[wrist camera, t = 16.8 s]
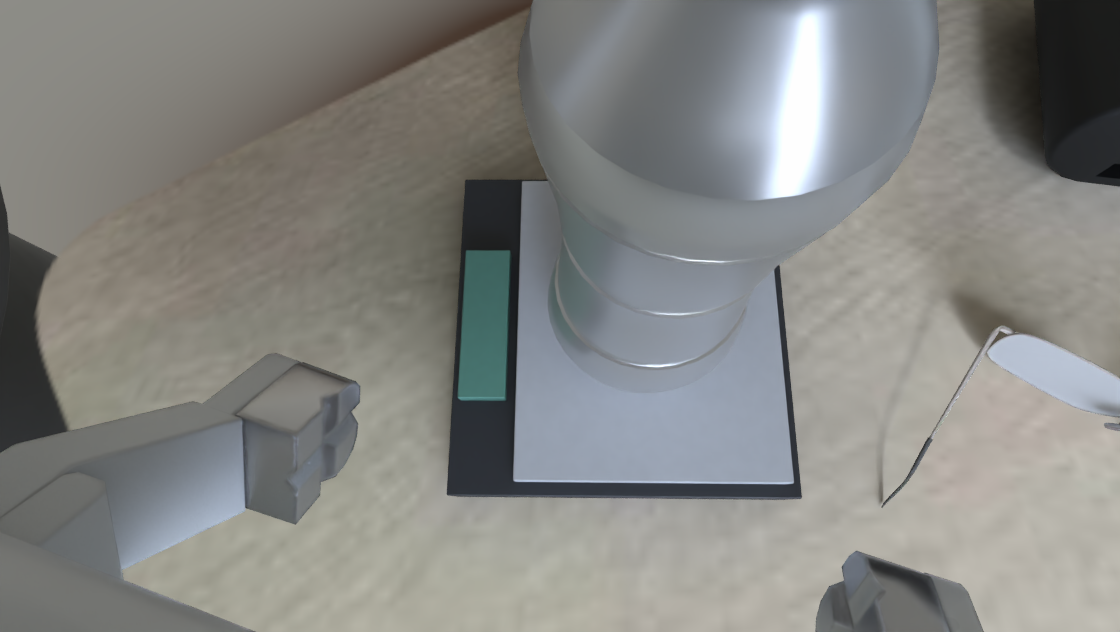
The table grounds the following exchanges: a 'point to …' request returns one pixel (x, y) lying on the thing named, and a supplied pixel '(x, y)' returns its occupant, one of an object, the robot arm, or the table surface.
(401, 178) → the table surface
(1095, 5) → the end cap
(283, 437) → the robot arm
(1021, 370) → the eyeglasses
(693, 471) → the scale
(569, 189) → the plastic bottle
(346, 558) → the table surface
